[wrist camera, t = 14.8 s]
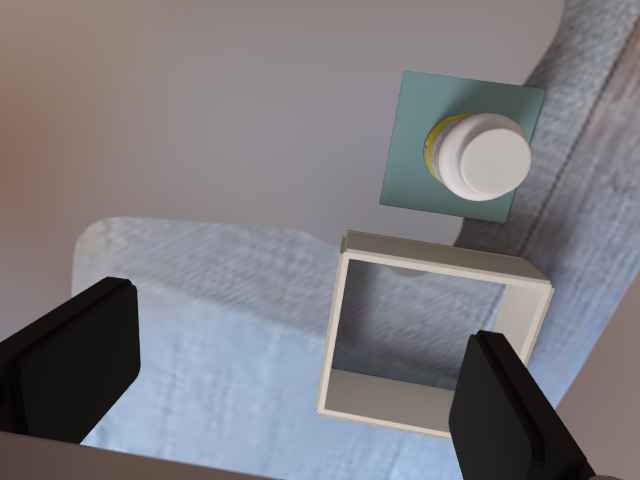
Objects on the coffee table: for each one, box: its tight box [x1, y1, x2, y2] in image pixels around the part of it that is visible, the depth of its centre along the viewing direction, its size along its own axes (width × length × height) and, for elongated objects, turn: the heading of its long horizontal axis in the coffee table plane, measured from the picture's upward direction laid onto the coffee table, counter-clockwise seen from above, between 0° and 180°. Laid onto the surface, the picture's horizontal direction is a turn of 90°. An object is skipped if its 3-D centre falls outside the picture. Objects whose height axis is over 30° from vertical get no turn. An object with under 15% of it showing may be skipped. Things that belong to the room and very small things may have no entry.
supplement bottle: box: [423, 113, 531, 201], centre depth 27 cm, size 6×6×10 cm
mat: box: [380, 71, 546, 223], centre depth 32 cm, size 11×11×1 cm
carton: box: [315, 230, 555, 441], centre depth 35 cm, size 17×17×6 cm
